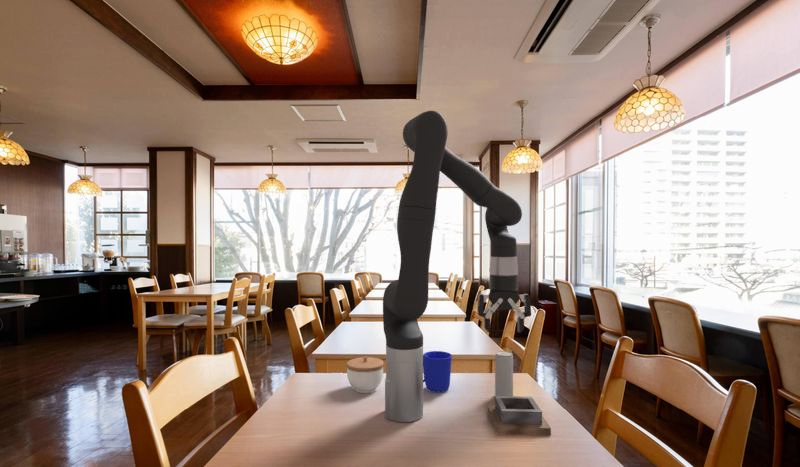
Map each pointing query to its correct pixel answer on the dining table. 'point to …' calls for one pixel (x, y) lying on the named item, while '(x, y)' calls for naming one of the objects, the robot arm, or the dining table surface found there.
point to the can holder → (517, 416)
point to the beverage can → (503, 373)
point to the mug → (437, 370)
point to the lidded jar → (365, 373)
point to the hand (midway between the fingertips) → (504, 331)
